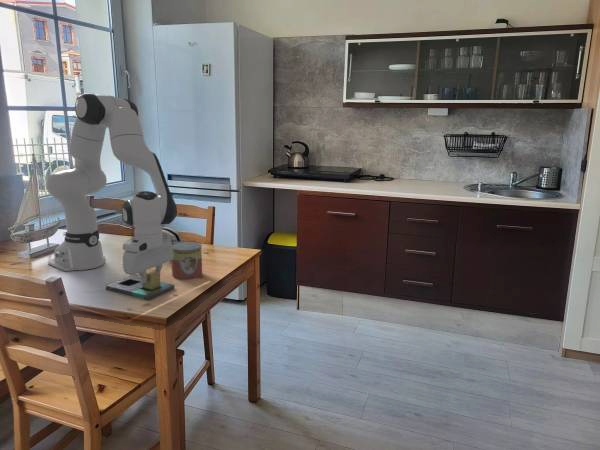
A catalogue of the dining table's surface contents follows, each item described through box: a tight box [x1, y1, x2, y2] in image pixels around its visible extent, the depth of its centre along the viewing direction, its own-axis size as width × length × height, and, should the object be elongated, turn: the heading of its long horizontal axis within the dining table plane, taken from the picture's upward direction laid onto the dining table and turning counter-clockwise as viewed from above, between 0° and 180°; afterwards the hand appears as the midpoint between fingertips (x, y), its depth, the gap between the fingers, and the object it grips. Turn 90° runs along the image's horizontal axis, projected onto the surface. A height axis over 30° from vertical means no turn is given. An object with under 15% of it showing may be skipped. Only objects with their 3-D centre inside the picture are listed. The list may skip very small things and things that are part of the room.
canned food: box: [171, 241, 203, 281], centre depth 175 cm, size 11×11×12 cm
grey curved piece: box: [161, 226, 183, 242], centre depth 216 cm, size 17×5×10 cm, turn 49°
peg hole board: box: [105, 275, 175, 302], centre depth 161 cm, size 20×12×2 cm, turn 63°
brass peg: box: [143, 268, 161, 291], centre depth 158 cm, size 4×4×6 cm
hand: (151, 279), depth 158 cm, fingers closed on brass peg, 4 cm apart
